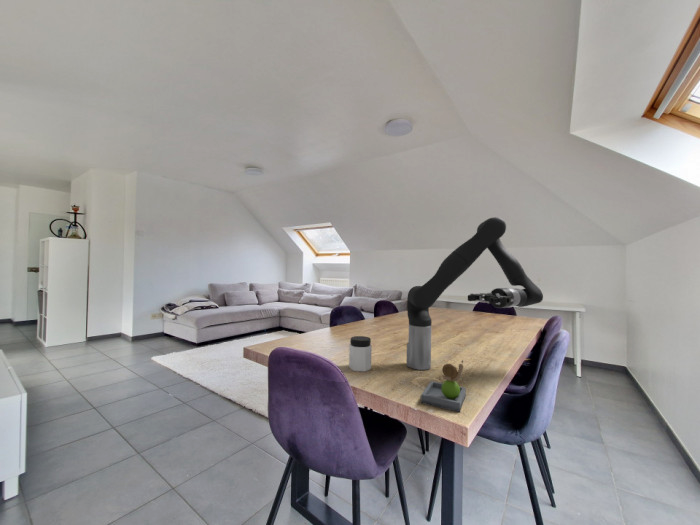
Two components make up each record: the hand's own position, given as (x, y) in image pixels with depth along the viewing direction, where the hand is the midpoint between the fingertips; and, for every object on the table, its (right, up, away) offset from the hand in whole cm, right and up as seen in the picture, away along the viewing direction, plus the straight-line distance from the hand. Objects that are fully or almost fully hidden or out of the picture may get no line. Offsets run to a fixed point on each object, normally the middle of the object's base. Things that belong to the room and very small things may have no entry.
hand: (479, 299), depth 106 cm
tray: (-17, -29, -14) cm, 37 cm away
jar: (-42, -30, +13) cm, 53 cm away
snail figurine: (-15, -28, -16) cm, 36 cm away
